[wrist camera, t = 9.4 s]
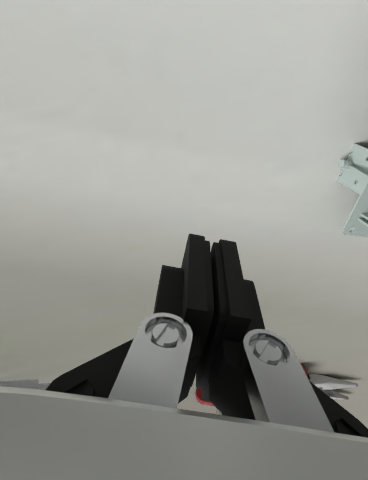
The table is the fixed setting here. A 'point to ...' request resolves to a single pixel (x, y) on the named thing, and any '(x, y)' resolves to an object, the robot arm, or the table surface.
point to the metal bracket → (356, 189)
